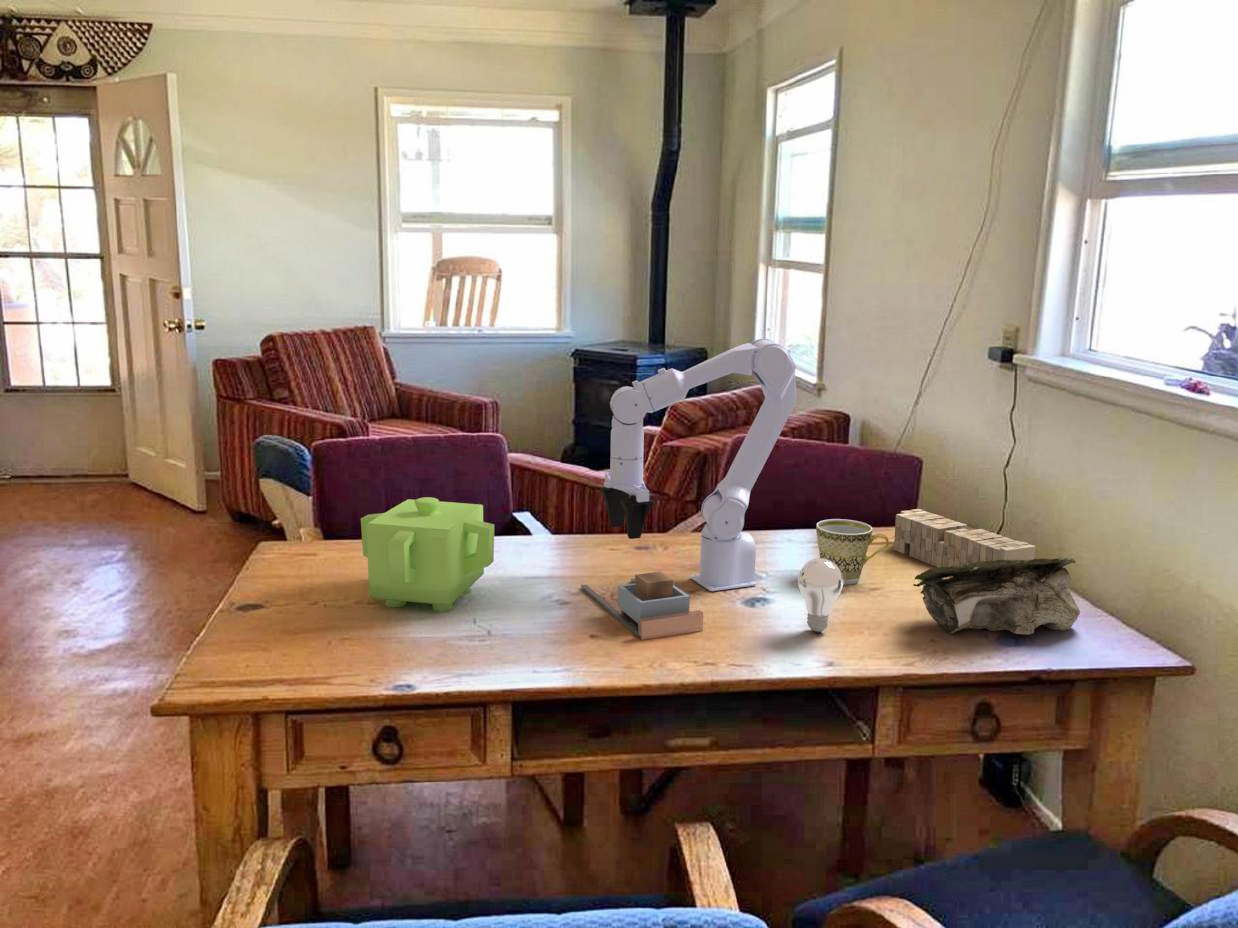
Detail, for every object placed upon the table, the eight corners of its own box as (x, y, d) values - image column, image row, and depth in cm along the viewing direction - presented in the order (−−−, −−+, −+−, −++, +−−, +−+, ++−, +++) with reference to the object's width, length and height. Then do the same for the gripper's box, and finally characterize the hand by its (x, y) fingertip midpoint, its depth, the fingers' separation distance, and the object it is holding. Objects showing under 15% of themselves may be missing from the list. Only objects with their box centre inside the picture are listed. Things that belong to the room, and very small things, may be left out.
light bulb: (813, 643, 154) (818, 568, 151) (785, 627, 160) (790, 555, 157) (849, 636, 157) (854, 562, 154) (820, 621, 163) (825, 550, 160)
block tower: (887, 553, 204) (1001, 593, 178) (890, 512, 202) (1004, 547, 177) (917, 548, 207) (1032, 587, 182) (919, 508, 206) (1036, 541, 180)
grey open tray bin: (664, 605, 168) (665, 579, 167) (688, 623, 160) (689, 596, 159) (617, 612, 164) (618, 585, 163) (639, 630, 157) (640, 602, 156)
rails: (636, 581, 180) (636, 565, 180) (702, 630, 158) (703, 612, 157) (581, 588, 176) (581, 571, 176) (641, 640, 154) (641, 621, 153)
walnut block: (659, 600, 165) (660, 571, 164) (672, 609, 161) (673, 579, 160) (634, 604, 163) (635, 574, 162) (646, 613, 159) (647, 583, 158)
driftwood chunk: (913, 661, 160) (949, 621, 147) (891, 589, 167) (924, 545, 154) (1074, 647, 164) (1123, 607, 152) (1046, 577, 171) (1090, 534, 159)
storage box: (397, 569, 185) (394, 478, 181) (515, 579, 180) (514, 486, 177) (332, 617, 161) (327, 513, 157) (466, 630, 156) (464, 524, 153)
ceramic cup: (807, 583, 181) (811, 529, 179) (818, 567, 190) (822, 516, 188) (881, 593, 176) (885, 539, 174) (889, 577, 185) (893, 524, 183)
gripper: (589, 450, 179) (588, 523, 182) (622, 467, 166) (621, 545, 169) (626, 447, 182) (624, 519, 185) (661, 464, 169) (658, 541, 172)
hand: (625, 532), depth 177 cm, fingers open, 7 cm apart
